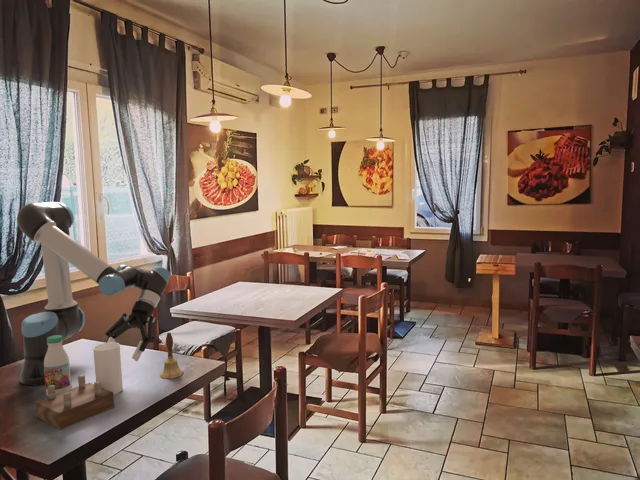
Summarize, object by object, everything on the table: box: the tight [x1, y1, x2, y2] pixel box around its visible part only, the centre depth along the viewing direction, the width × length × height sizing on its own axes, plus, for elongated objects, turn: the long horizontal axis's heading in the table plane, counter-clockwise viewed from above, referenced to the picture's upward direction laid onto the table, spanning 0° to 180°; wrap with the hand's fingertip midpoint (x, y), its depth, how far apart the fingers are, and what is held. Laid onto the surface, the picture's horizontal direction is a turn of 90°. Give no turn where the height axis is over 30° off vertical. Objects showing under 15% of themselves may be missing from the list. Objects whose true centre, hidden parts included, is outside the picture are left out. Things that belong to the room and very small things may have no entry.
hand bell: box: [159, 332, 184, 380], centre depth 180 cm, size 8×8×16 cm
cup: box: [93, 341, 124, 396], centre depth 166 cm, size 8×8×16 cm
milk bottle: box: [44, 335, 72, 397], centre depth 165 cm, size 8×8×20 cm
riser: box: [35, 374, 115, 431], centre depth 151 cm, size 14×17×9 cm
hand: (119, 357), depth 168 cm, fingers open, 13 cm apart
